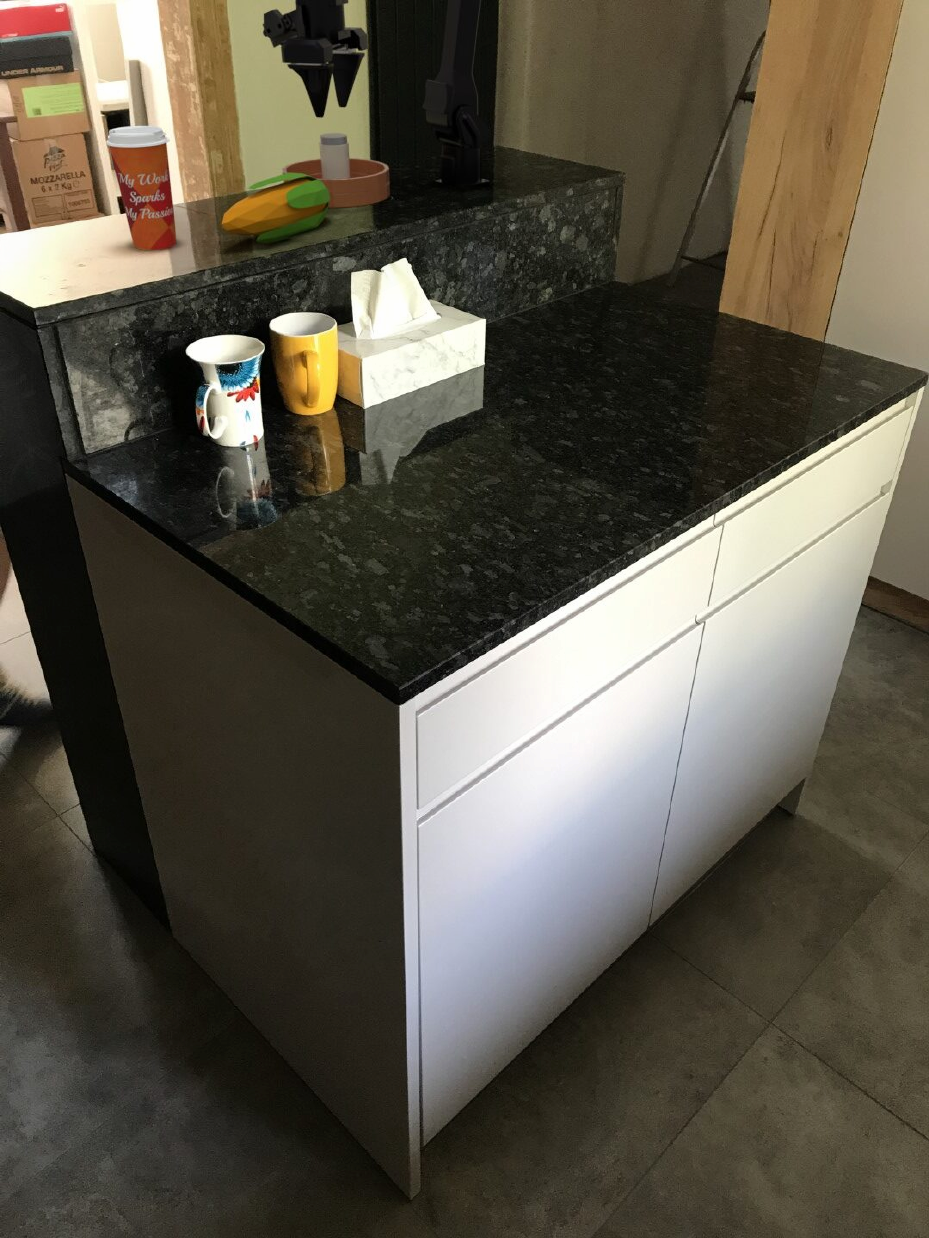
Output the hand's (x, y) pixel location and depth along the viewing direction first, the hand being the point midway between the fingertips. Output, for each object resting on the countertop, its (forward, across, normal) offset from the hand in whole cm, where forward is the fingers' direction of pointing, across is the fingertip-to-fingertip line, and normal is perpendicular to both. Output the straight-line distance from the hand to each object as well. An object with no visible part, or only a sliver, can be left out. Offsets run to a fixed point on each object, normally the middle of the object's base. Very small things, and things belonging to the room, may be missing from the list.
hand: (331, 112), depth 147 cm
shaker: (+12, -2, -1) cm, 12 cm away
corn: (+13, +21, 0) cm, 25 cm away
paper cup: (+12, +29, -15) cm, 35 cm away
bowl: (+12, -2, -1) cm, 13 cm away
